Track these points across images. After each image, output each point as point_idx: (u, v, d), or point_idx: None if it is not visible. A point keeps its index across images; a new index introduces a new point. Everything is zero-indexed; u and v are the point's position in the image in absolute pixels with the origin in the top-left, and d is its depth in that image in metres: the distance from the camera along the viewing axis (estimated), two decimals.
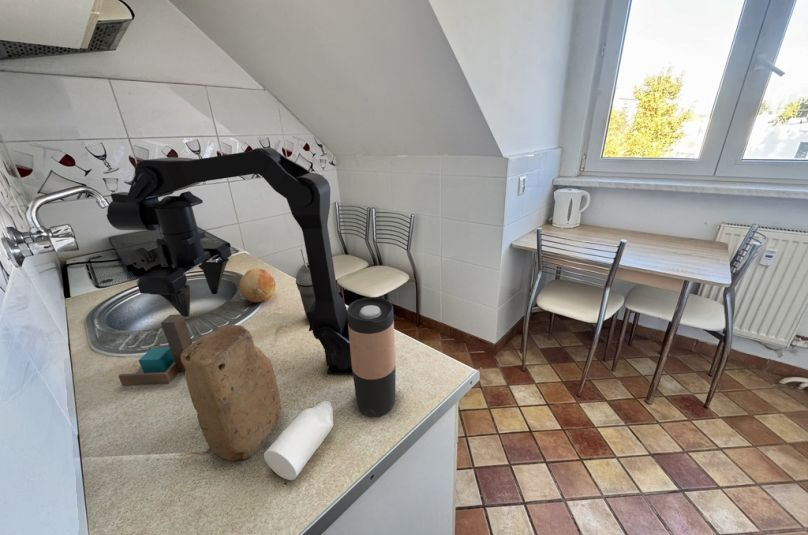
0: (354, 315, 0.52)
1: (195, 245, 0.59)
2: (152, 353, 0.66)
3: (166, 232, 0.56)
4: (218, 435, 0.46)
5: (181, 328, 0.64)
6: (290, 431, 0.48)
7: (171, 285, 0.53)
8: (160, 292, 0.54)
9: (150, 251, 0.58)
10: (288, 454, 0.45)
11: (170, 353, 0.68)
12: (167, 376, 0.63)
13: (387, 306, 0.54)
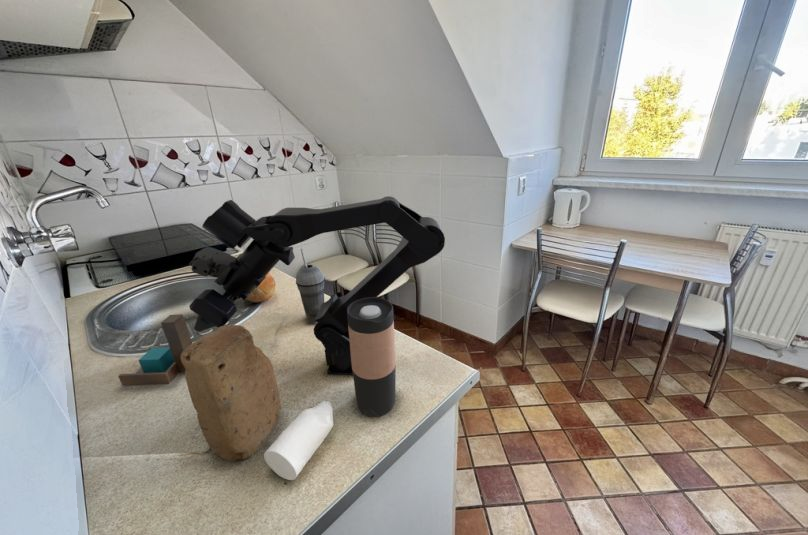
0: (354, 315, 0.52)
1: None
2: (152, 353, 0.66)
3: (248, 267, 0.57)
4: (218, 435, 0.46)
5: (181, 328, 0.64)
6: (290, 431, 0.48)
7: (225, 322, 0.54)
8: (210, 321, 0.53)
9: (217, 266, 0.56)
10: (288, 454, 0.45)
11: (170, 353, 0.68)
12: (167, 376, 0.63)
13: (387, 306, 0.54)
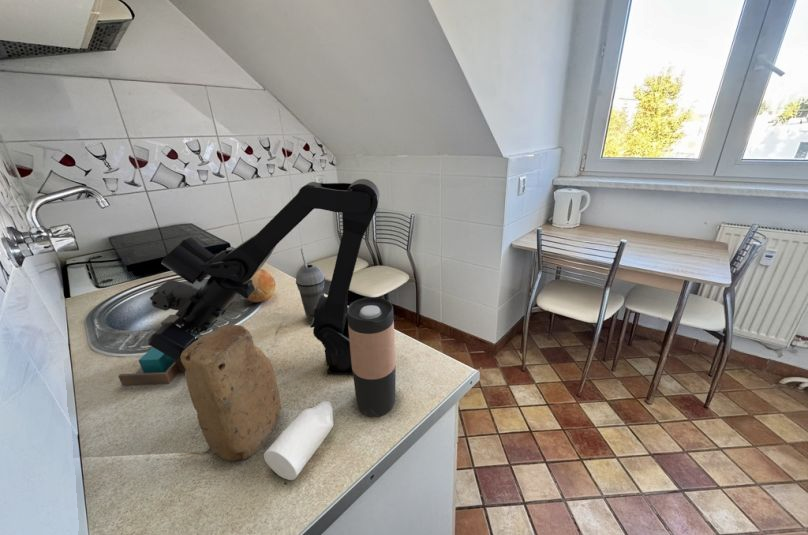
0: (354, 315, 0.52)
1: (218, 315, 0.63)
2: (152, 353, 0.66)
3: (207, 300, 0.59)
4: (218, 435, 0.46)
5: None
6: (290, 431, 0.48)
7: None
8: (168, 355, 0.56)
9: (177, 300, 0.59)
10: (288, 454, 0.45)
11: None
12: (167, 376, 0.63)
13: (387, 306, 0.54)
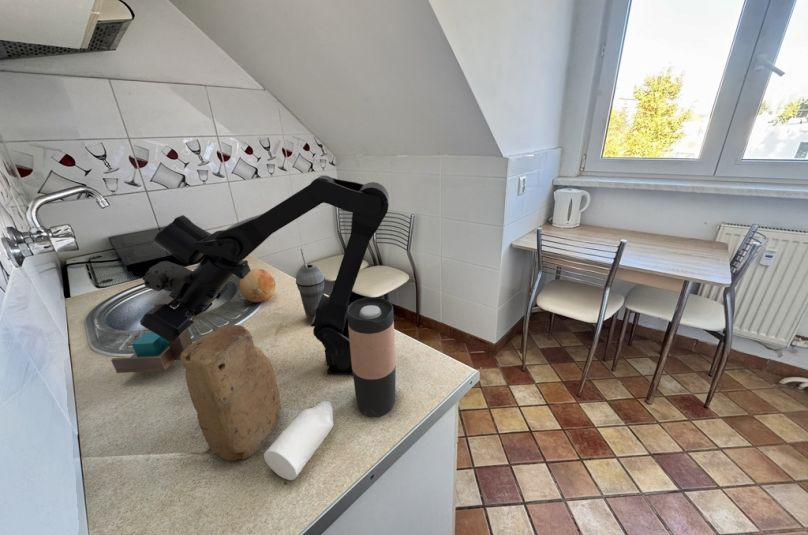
0: (354, 315, 0.52)
1: (213, 297, 0.61)
2: (146, 337, 0.65)
3: (201, 281, 0.57)
4: (218, 435, 0.46)
5: None
6: (290, 431, 0.48)
7: (177, 336, 0.55)
8: (161, 336, 0.54)
9: (170, 280, 0.57)
10: (288, 454, 0.45)
11: None
12: (161, 360, 0.62)
13: (387, 306, 0.54)
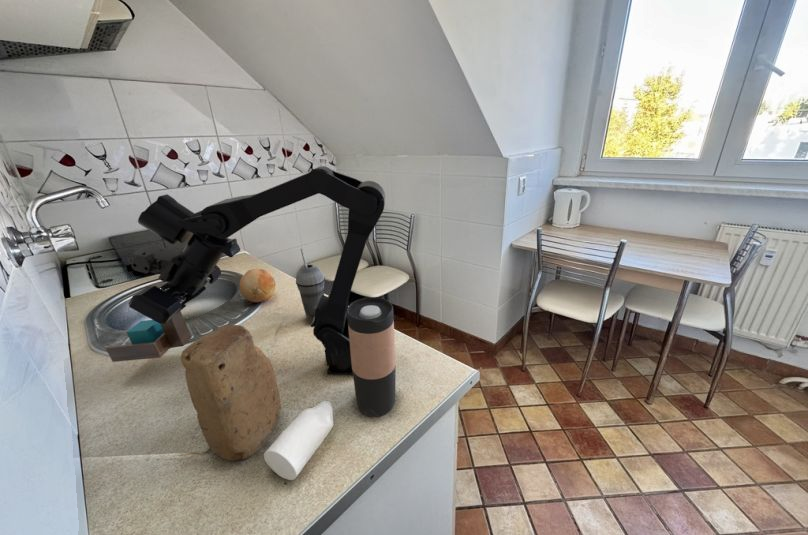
0: (354, 315, 0.52)
1: (204, 278, 0.59)
2: (141, 325, 0.64)
3: (190, 261, 0.56)
4: (218, 435, 0.46)
5: None
6: (290, 431, 0.48)
7: (167, 318, 0.53)
8: (151, 317, 0.53)
9: (158, 262, 0.56)
10: (288, 454, 0.45)
11: (160, 325, 0.65)
12: (156, 346, 0.61)
13: (387, 306, 0.54)
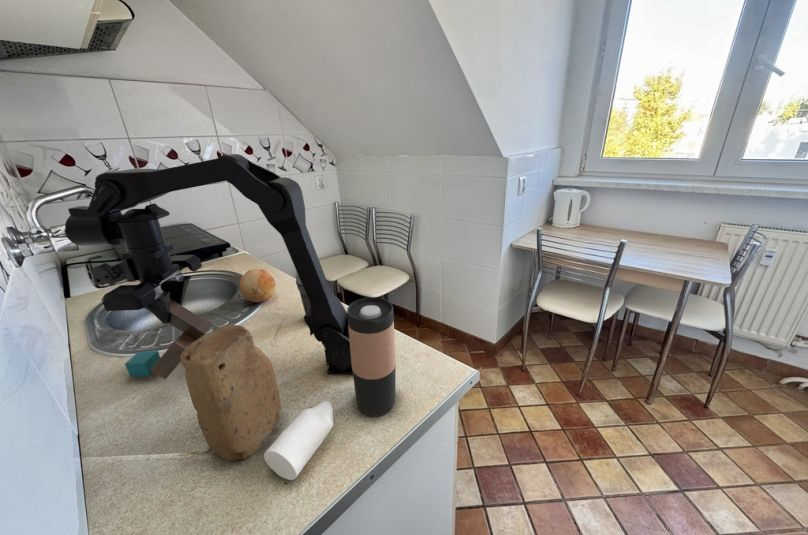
0: (354, 315, 0.52)
1: (163, 258, 0.58)
2: None
3: (131, 246, 0.55)
4: (218, 435, 0.46)
5: None
6: (290, 431, 0.48)
7: (139, 301, 0.52)
8: (128, 309, 0.52)
9: (114, 266, 0.56)
10: (288, 454, 0.45)
11: (141, 353, 0.68)
12: (177, 343, 0.60)
13: (387, 306, 0.54)
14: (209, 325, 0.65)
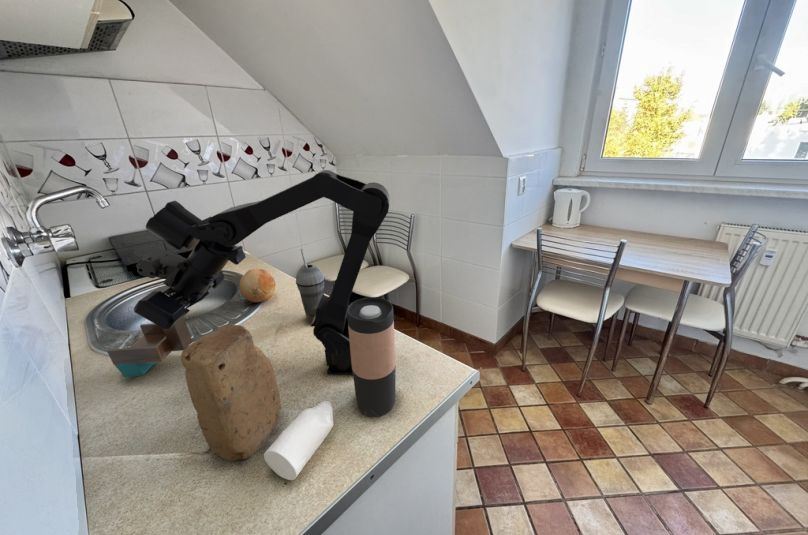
0: (354, 315, 0.52)
1: (209, 284, 0.60)
2: None
3: (196, 267, 0.56)
4: (218, 435, 0.46)
5: None
6: (290, 431, 0.48)
7: (172, 323, 0.54)
8: (156, 323, 0.53)
9: (164, 267, 0.56)
10: (288, 454, 0.45)
11: None
12: (157, 350, 0.61)
13: (387, 306, 0.54)
14: (190, 341, 0.67)
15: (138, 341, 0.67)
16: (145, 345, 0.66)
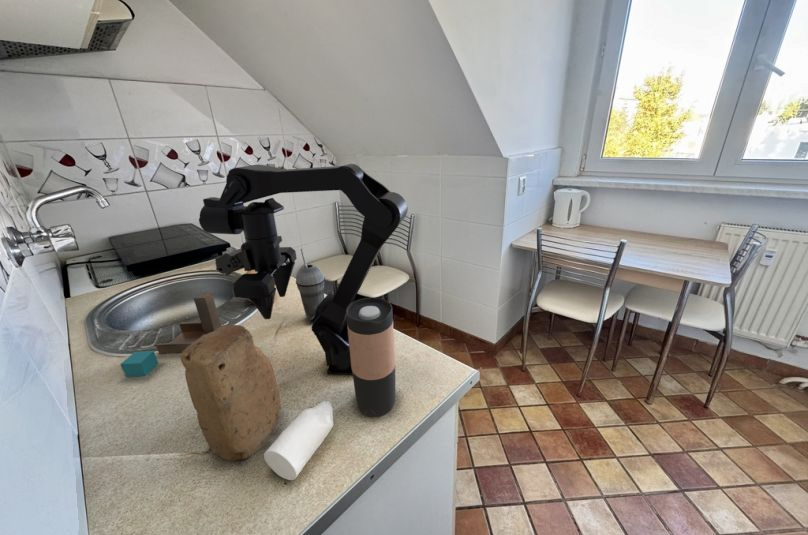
0: (353, 316, 0.51)
1: (276, 249, 0.61)
2: None
3: (250, 237, 0.58)
4: (218, 435, 0.46)
5: (210, 303, 0.73)
6: (290, 431, 0.48)
7: (266, 288, 0.55)
8: (255, 295, 0.55)
9: (234, 256, 0.59)
10: (288, 454, 0.45)
11: (137, 353, 0.68)
12: None
13: (386, 306, 0.54)
14: None
15: (178, 337, 0.78)
16: (185, 340, 0.77)
